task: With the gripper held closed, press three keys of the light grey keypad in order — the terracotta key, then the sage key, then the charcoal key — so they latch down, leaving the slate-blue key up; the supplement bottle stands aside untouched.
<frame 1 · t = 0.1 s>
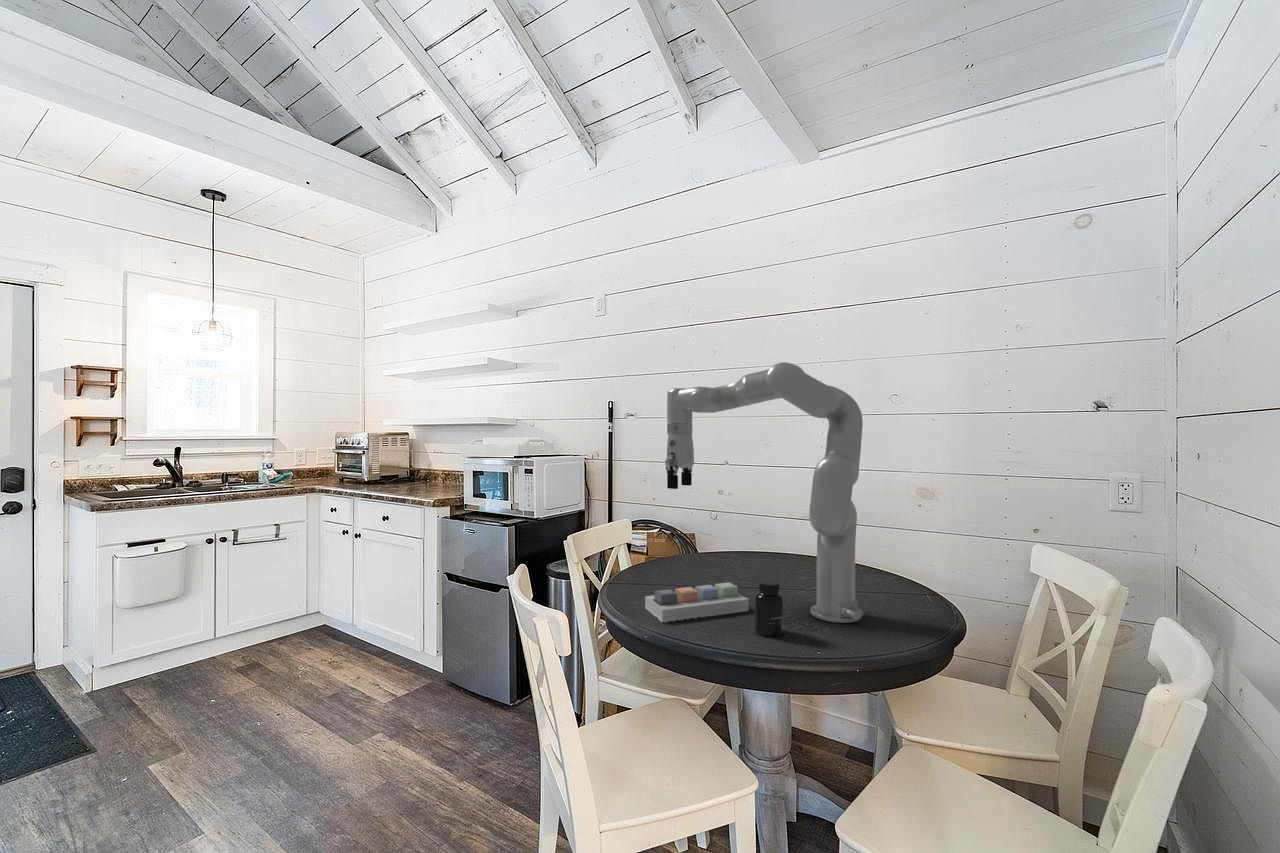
hand: (679, 486, 172), 31 cm above the table, tool pointing down, fingers open, 9 cm apart
key charcoal: (665, 597, 152), point 4 cm above the table, slide at 0.0 cm
key terracotta: (686, 595, 154), point 4 cm above the table, slide at 0.0 cm
key slate: (706, 592, 156), point 4 cm above the table, slide at 0.0 cm
supplement bottle: (768, 633, 139), on the table
keypad: (696, 609, 155), on the table
key sage: (726, 590, 158), point 4 cm above the table, slide at 0.0 cm
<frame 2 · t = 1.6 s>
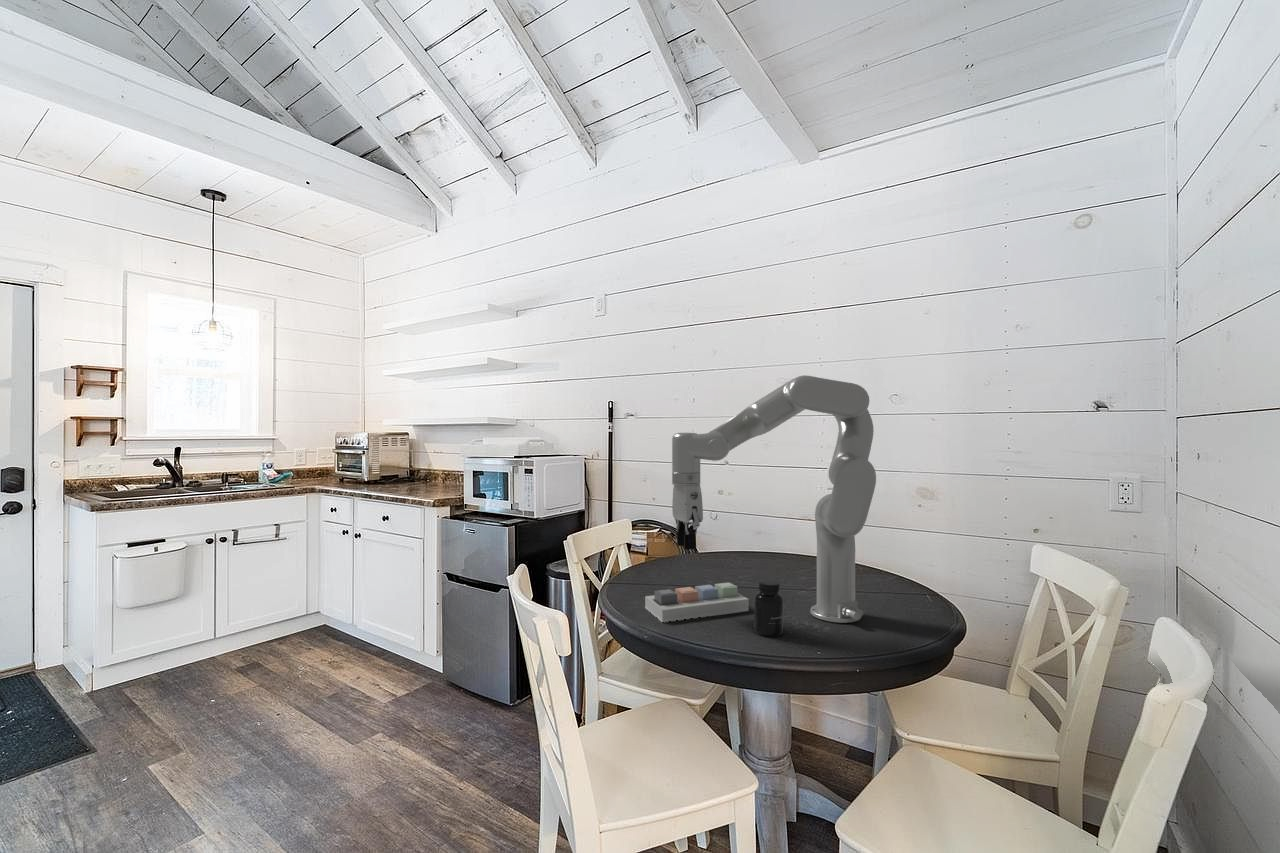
hand: (686, 546, 154), 17 cm above the table, tool pointing down, fingers open, 3 cm apart
nothing on the table moved.
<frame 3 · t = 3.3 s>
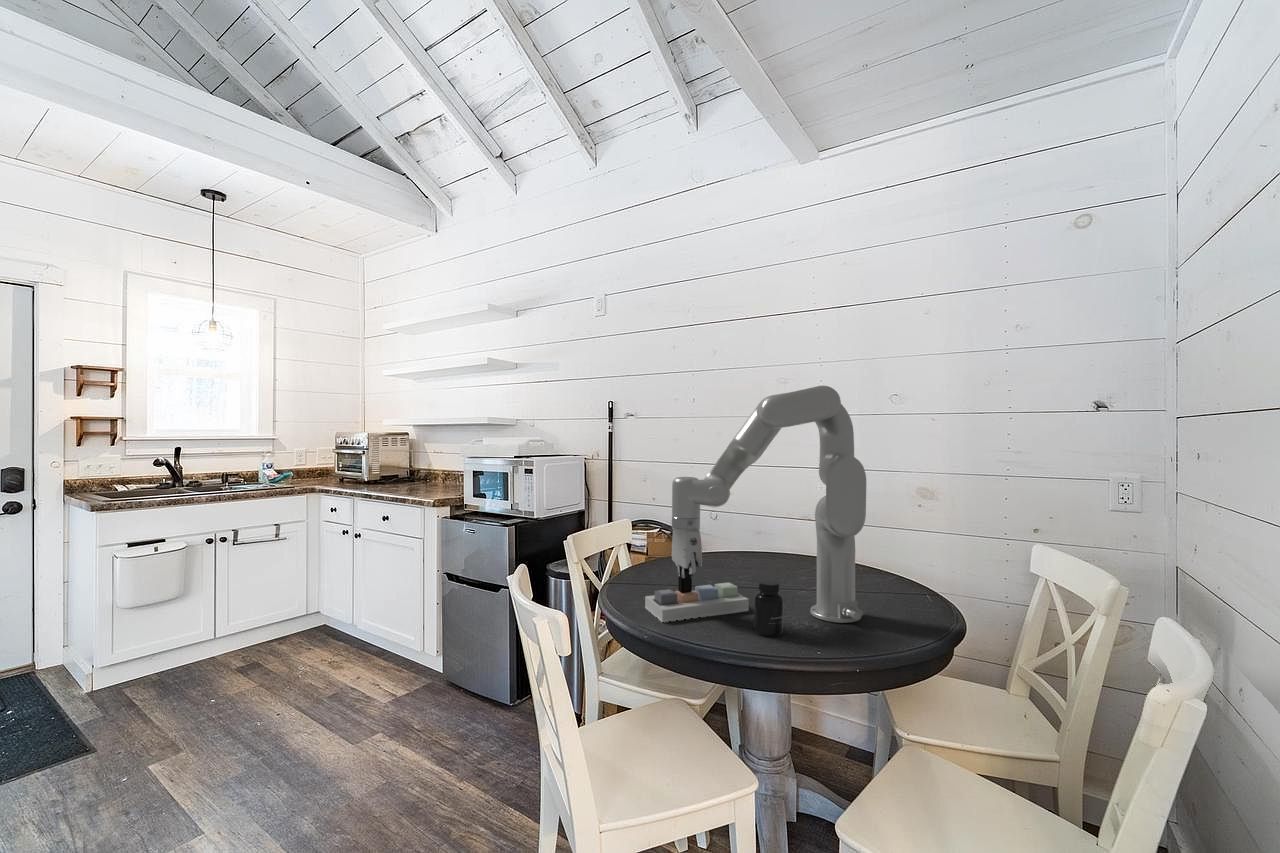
hand: (684, 591, 154), 5 cm above the table, tool pointing down, fingers closed
key terracotta: (686, 597, 154), point 4 cm above the table, slide at 0.6 cm, touching gripper
everything else where it was.
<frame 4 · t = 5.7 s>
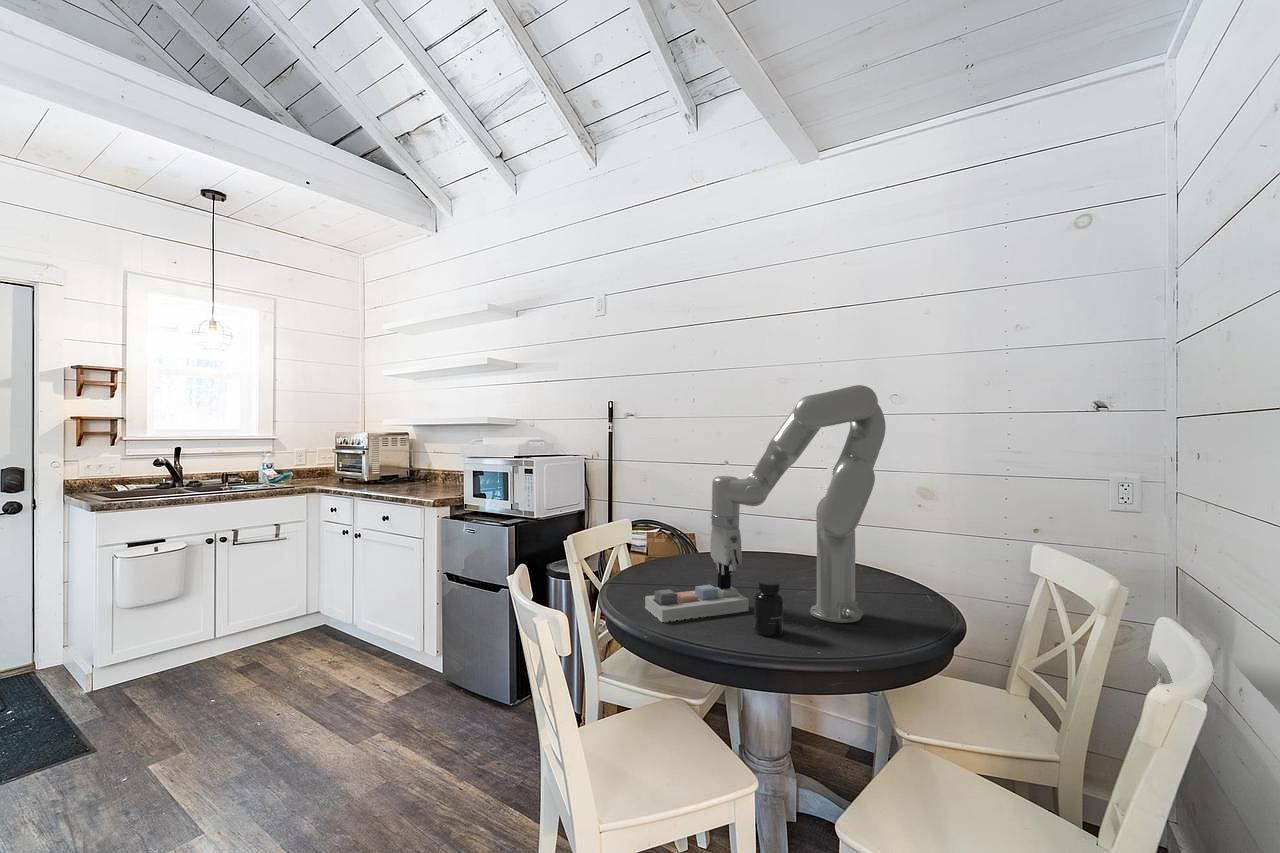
hand: (724, 587, 158), 5 cm above the table, tool pointing down, fingers closed
key terracotta: (686, 600, 154), point 3 cm above the table, slide at 1.3 cm
key sage: (726, 593, 158), point 3 cm above the table, slide at 0.9 cm
everything else where it was.
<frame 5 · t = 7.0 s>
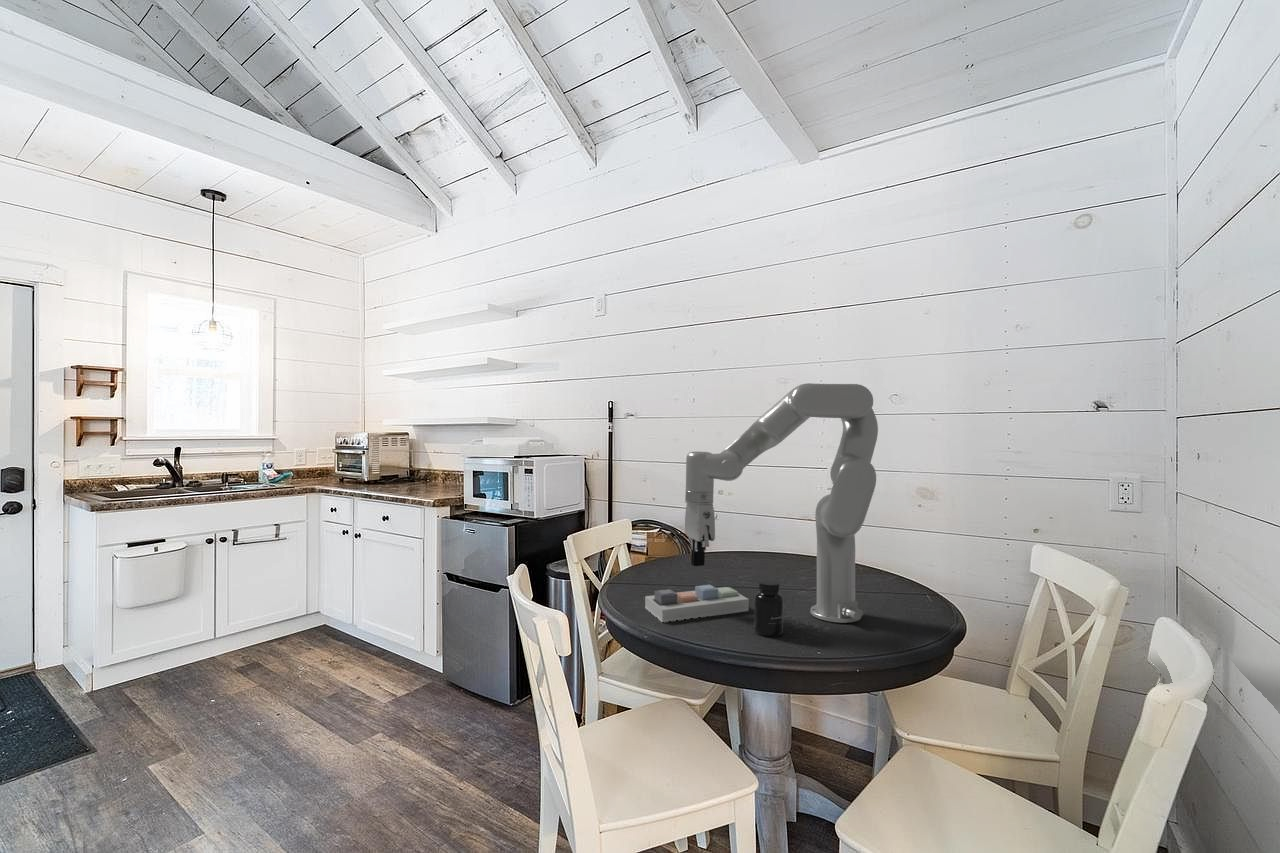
hand: (697, 564, 155), 12 cm above the table, tool pointing down, fingers closed
key sage: (726, 595, 158), point 3 cm above the table, slide at 1.3 cm
everything else where it was.
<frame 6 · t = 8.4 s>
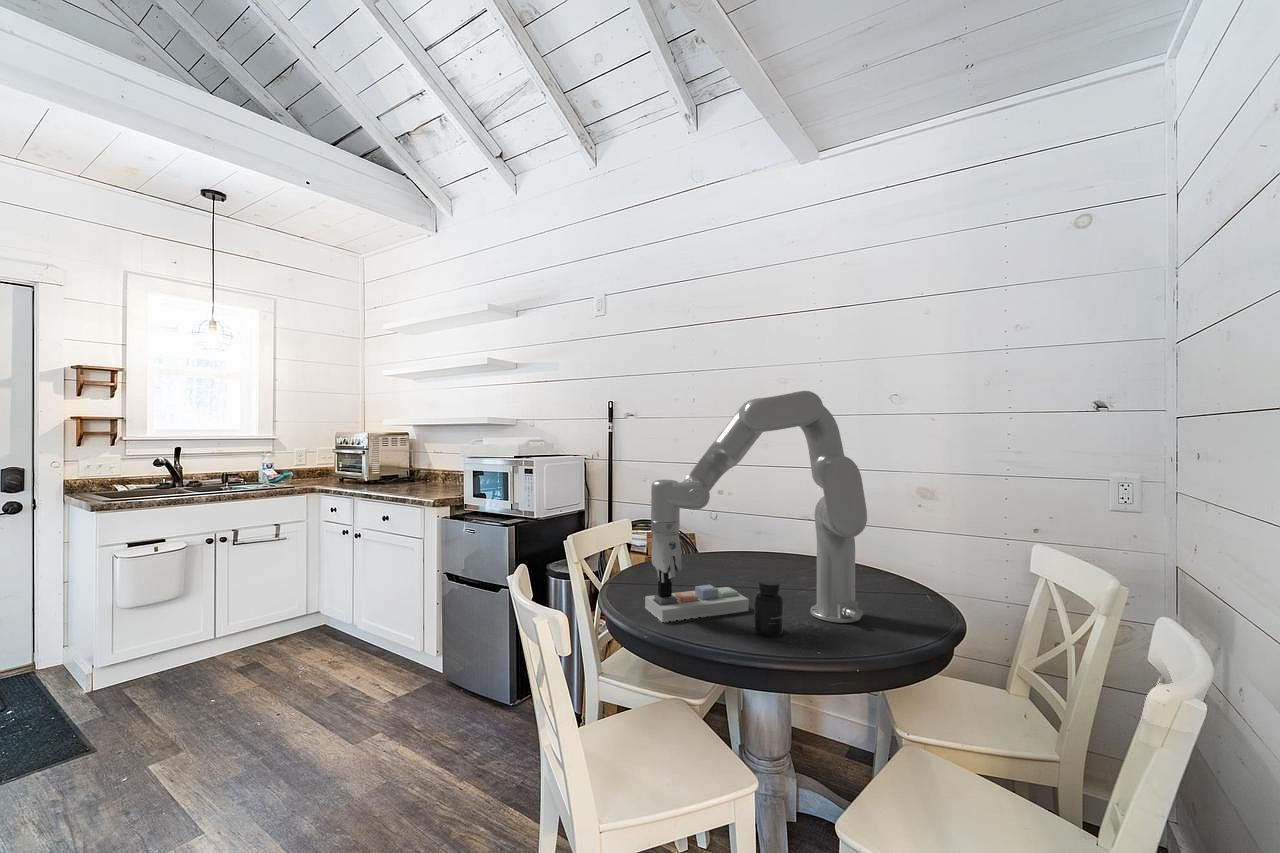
hand: (664, 596, 152), 5 cm above the table, tool pointing down, fingers closed
key charcoal: (665, 602, 152), point 3 cm above the table, slide at 1.2 cm, touching gripper
everything else where it was.
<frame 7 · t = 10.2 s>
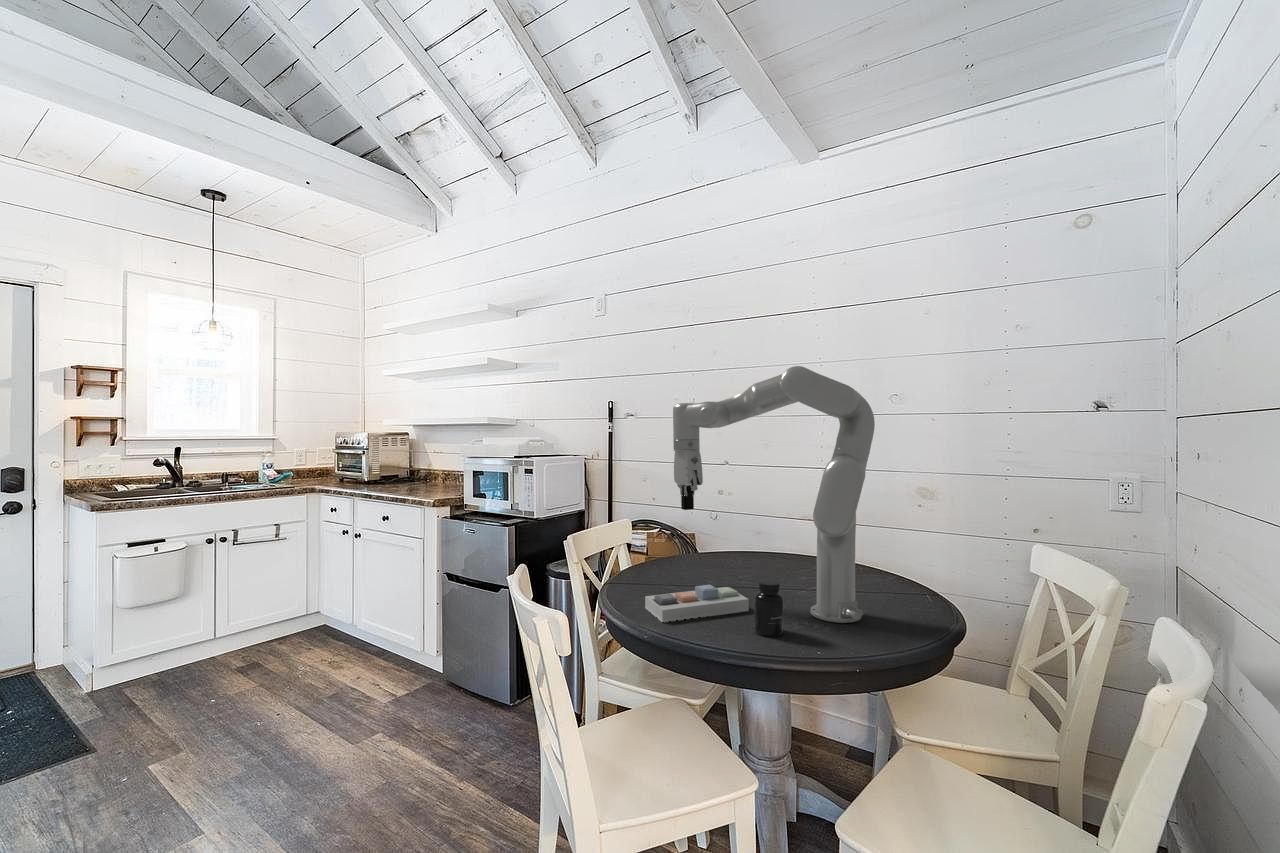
hand: (687, 509, 166), 25 cm above the table, tool pointing down, fingers closed
key charcoal: (665, 602, 152), point 3 cm above the table, slide at 1.3 cm
everything else where it was.
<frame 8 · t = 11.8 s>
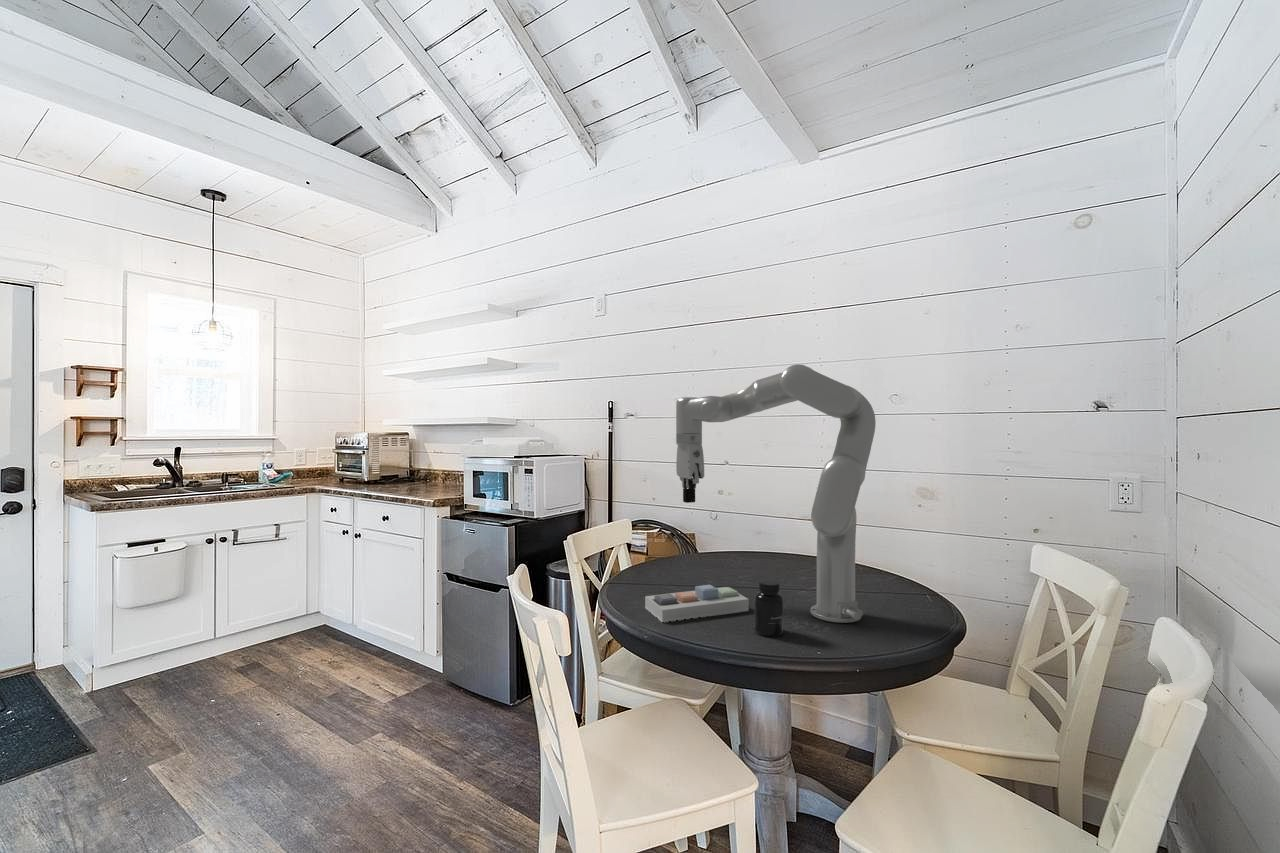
hand: (689, 502, 168), 27 cm above the table, tool pointing down, fingers closed
nothing on the table moved.
at the end: key terracotta slide at 1.3 cm; key sage slide at 1.3 cm; key charcoal slide at 1.3 cm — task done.
